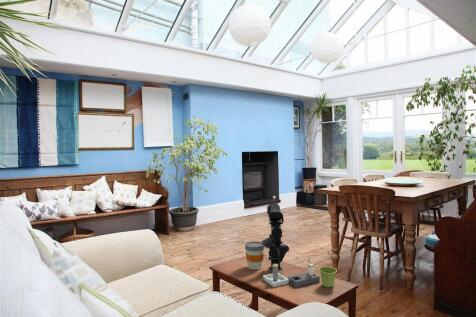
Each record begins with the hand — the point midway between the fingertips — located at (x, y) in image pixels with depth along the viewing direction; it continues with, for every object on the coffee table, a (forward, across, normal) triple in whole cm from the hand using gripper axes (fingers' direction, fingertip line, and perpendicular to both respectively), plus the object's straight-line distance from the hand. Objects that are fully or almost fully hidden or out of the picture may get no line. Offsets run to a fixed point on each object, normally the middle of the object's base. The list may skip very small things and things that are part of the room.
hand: (276, 259), depth 180 cm
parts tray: (+12, 0, -1) cm, 12 cm away
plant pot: (+12, +18, +22) cm, 31 cm away
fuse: (+12, +8, +18) cm, 23 cm away
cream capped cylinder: (+12, 0, -1) cm, 12 cm away
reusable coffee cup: (+13, -26, -2) cm, 29 cm away
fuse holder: (+12, +8, +13) cm, 20 cm away
